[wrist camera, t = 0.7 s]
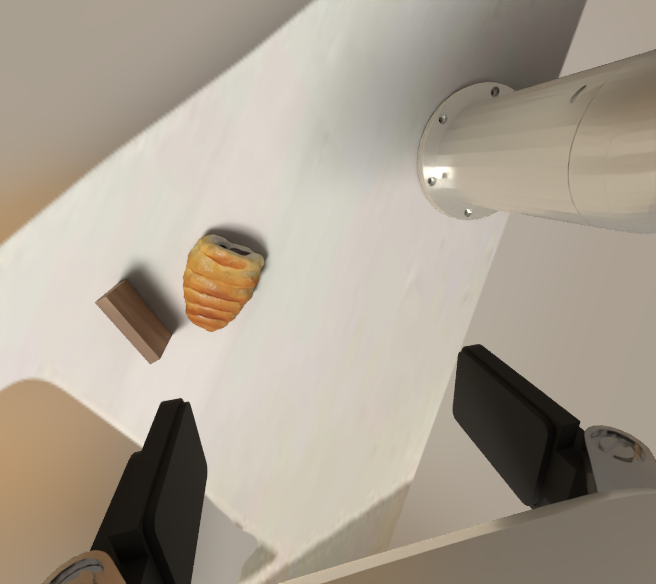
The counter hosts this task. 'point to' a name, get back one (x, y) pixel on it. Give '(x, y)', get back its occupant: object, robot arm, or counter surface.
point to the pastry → (219, 281)
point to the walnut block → (135, 320)
